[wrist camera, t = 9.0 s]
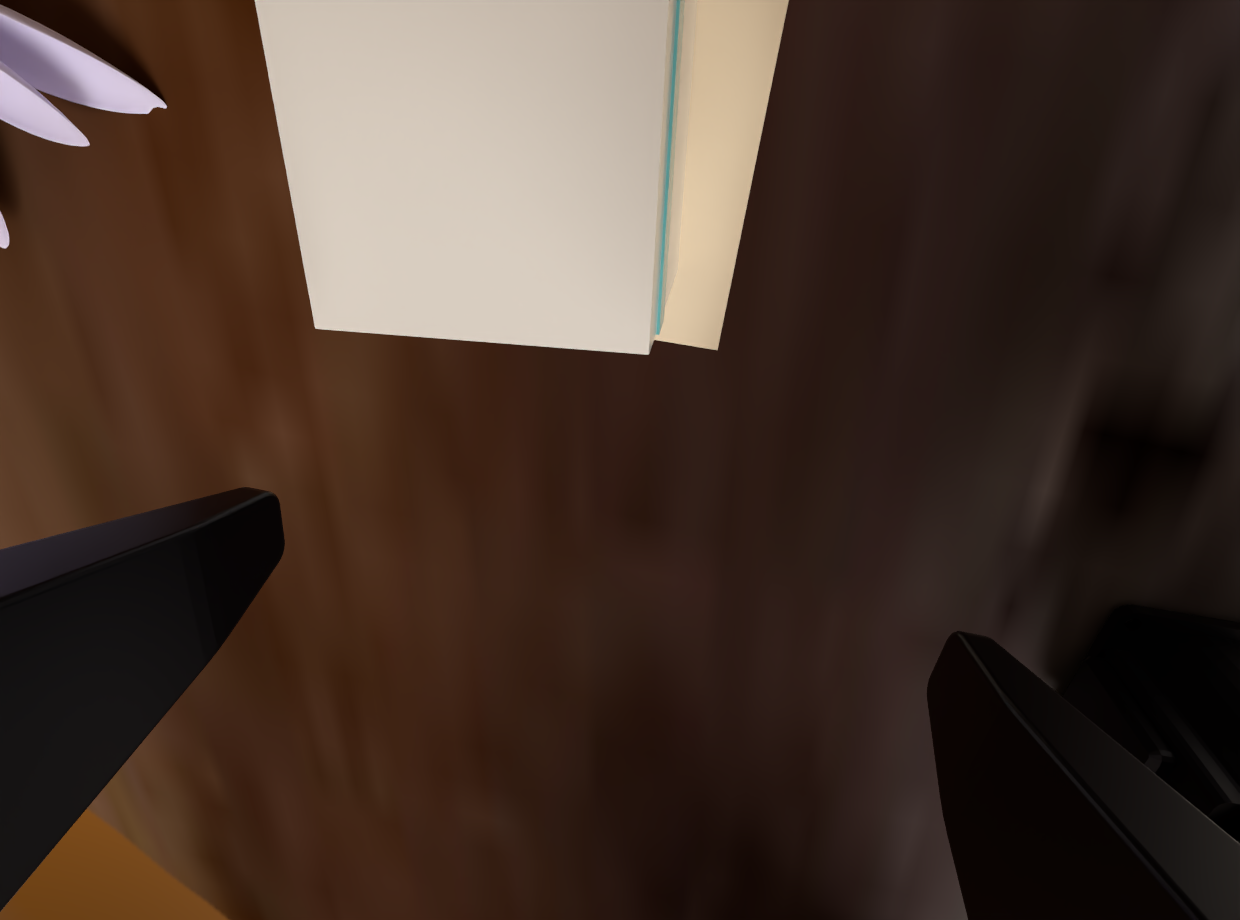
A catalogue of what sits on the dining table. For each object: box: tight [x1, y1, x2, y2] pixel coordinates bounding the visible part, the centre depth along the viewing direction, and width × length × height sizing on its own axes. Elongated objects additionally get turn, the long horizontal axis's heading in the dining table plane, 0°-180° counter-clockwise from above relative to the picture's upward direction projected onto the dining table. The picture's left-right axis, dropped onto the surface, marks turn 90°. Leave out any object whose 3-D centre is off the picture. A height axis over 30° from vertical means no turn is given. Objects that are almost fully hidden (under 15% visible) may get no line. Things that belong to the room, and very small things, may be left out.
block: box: [654, 0, 789, 350], centre depth 17 cm, size 9×9×3 cm
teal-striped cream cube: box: [255, 0, 697, 355], centre depth 12 cm, size 6×6×7 cm
